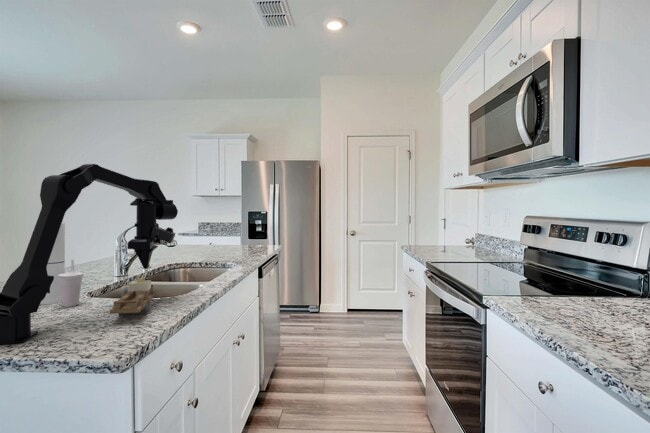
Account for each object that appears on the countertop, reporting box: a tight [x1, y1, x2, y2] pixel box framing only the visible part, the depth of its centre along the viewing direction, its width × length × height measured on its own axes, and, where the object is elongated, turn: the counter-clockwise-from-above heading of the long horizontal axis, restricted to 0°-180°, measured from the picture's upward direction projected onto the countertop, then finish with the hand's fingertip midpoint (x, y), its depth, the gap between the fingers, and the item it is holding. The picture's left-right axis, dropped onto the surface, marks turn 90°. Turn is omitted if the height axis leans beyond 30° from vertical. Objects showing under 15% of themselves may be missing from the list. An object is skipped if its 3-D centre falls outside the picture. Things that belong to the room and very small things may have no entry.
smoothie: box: [58, 259, 84, 308], centre depth 106 cm, size 6×6×14 cm
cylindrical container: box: [40, 222, 66, 305], centre depth 110 cm, size 7×7×25 cm
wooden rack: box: [109, 284, 157, 317], centre depth 100 cm, size 20×7×6 cm, turn 15°
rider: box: [128, 278, 152, 296], centre depth 104 cm, size 4×5×5 cm
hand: (145, 268), depth 111 cm, fingers closed
